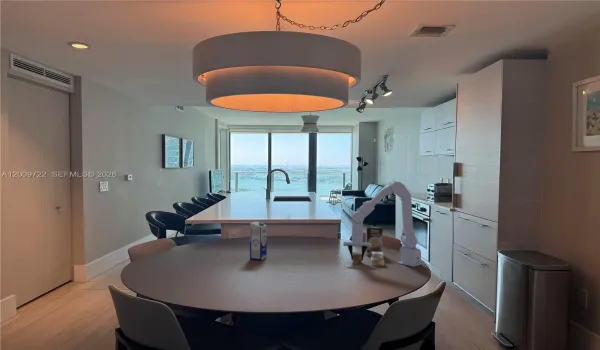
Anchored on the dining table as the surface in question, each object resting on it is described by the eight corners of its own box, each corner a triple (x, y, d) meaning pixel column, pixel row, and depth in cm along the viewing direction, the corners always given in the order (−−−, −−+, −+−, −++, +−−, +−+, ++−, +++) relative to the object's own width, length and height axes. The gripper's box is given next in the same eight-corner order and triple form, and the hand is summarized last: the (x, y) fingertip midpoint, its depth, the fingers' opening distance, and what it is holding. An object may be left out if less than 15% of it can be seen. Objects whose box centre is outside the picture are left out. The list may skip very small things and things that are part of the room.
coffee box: (366, 255, 207) (366, 227, 207) (365, 253, 214) (365, 226, 214) (382, 256, 207) (382, 228, 206) (381, 253, 213) (381, 226, 213)
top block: (382, 257, 193) (382, 252, 193) (383, 260, 187) (383, 254, 187) (371, 257, 194) (372, 251, 193) (372, 259, 188) (372, 253, 188)
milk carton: (255, 256, 202) (255, 220, 202) (266, 257, 200) (267, 221, 200) (249, 259, 196) (250, 222, 195) (261, 260, 193) (261, 223, 193)
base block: (383, 263, 193) (383, 257, 193) (384, 266, 187) (384, 260, 187) (370, 262, 194) (370, 256, 194) (371, 265, 188) (371, 259, 188)
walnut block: (361, 261, 194) (361, 252, 194) (361, 264, 189) (361, 254, 189) (352, 261, 194) (352, 252, 194) (352, 263, 190) (352, 254, 190)
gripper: (343, 235, 189) (343, 261, 189) (371, 236, 187) (371, 262, 187) (343, 232, 196) (343, 258, 196) (371, 233, 194) (370, 259, 194)
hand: (357, 260), depth 192 cm, fingers closed on walnut block, 4 cm apart
